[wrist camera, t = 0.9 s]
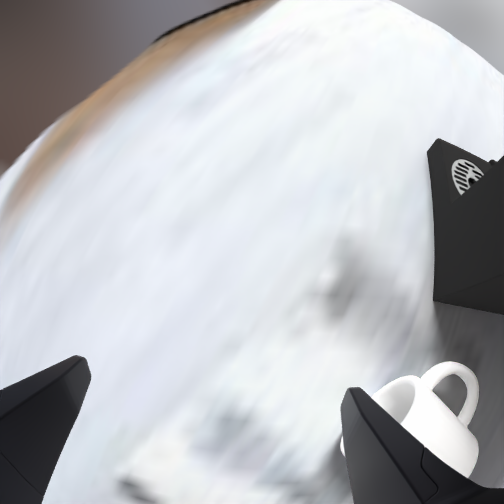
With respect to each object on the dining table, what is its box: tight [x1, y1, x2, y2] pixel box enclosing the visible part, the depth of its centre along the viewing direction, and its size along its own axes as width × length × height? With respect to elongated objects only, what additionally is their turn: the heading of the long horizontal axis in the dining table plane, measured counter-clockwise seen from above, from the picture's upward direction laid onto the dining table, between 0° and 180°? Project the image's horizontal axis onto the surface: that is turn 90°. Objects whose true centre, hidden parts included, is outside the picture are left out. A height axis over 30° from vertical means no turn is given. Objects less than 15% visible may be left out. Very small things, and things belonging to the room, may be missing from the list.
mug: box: [340, 361, 479, 478], centre depth 17 cm, size 12×10×8 cm
